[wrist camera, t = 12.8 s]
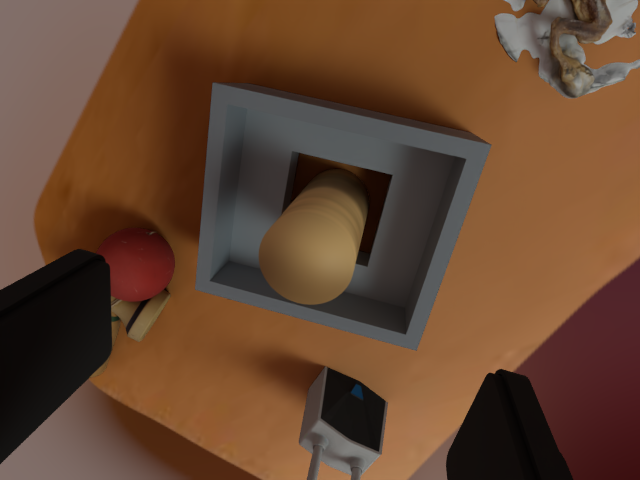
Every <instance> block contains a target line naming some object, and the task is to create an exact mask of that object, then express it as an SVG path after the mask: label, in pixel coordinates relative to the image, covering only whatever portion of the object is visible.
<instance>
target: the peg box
mask: <svg viewBox="0 0 640 480" xmlns="http://www.w3.org/2000/svg"><path fill="white" fill-rule="evenodd" d="M490 147H491V144H489V143H487V142H486V141H484V140H483V139H481V138H479V137H478V136H476V135H475V134H473V133H470V132H466V131H461V130H457V129H452V128H448V127H443V126H439V125H434V124H430V123H425V122H421V121H416V120H412V119H407V118H403V117H398V116H394V115H389V114H385V113H380V112H376V111H371V110H367V109H362V108H358V107H353V106H349V105H344V104H340V103H335V102H331V101H326V100H322V99H317V98H313V97H308V96H304V95H299V94H295V93H290V92H286V91H281V90H277V89H272V88H268V87H263V86H259V85H254V84H250V83H216V82H213V84H212V96H211V108H210V120H209V132H208V143H207V155H206V167H205V179H204V191H203V203H202V215H201V226H200V238H199V250H198V262H197V274H196V286H195V290H199V291H202V292H206V293H209V294H213V295H217V296H220V297H224V298H228V299H231V300H235V301H238V302H242V303H246V304H249V305H253V306H257V307H260V308H264V309H267V310H271V311H275V312H278V313H282V314H286V315H289V316H293V317H296V318H300V319H304V320H307V321H311V322H315V323H318V324H322V325H325V326H329V327H333V328H336V329H340V330H344V331H347V332H351V333H354V334H358V335H362V336H365V337H369V338H372V339H376V340H380V341H383V342H387V343H391V344H394V345H398V346H401V347H405V348H409V349H412V350H416V351H417V348H418V345H419V342H420V340H421V337H422V334H423V331H424V329H425V326H426V323H427V320H428V318H429V315H430V312H431V309H432V307H433V304H434V301H435V298H436V296H437V293H438V290H439V287H440V285H441V282H442V279H443V276H444V274H445V271H446V268H447V266H448V263H449V260H450V257H451V255H452V252H453V249H454V246H455V244H456V241H457V238H458V235H459V233H460V230H461V227H462V224H463V222H464V219H465V216H466V213H467V211H468V208H469V205H470V202H471V200H472V197H473V194H474V191H475V189H476V186H477V183H478V180H479V178H480V175H481V172H482V169H483V167H484V164H485V161H486V158H487V156H488V153H489V150H490ZM299 153H302V154H307V155H311V156H315V157H319V158H324V159H328V160H332V161H336V162H341V163H345V164H349V165H353V166H357V167H362V168H366V169H370V170H374V171H379V172H383V173H387V174H391V178H390V181H389V185H388V189H387V192H386V196H385V200H384V203H383V207H382V211H381V214H380V218H379V221H378V225H377V229H376V232H375V236H374V240H373V243H372V247H371V251H370V254H369V253H365V252H361V251H358V255H357V260H356V264H355V268H354V272H353V276H352V279H351V281H350V283H349V285H348V286H347V288H346V289H345V290H344V291H343V292H342V293H341V294H340V295H339V296H338V297H336V298H334V299H333V300H331V301H328V302H325V303H322V304H315V305H308V304H301V303H296V302H293V301H291V300H288V299H286V298H285V297H283V296H281V295H280V294H279V293H277V292H276V291H275V290H274V289H273V288H272V287H271V286H270V285H269V284H268V282H267V281H266V279H265V278H264V276H263V274H262V271H261V268H260V264H259V247H260V244H261V241H262V239H263V237H264V235H265V234H266V232H267V231H268V230H269V228H270V227H271V226H272V225H273V224H274V223H275V222H276V220H277V219H278V218H279V217H280V216H281V215H282V214H283V212H284V211H285V210H286V209H287V208H288V207H289V205H290V201H291V196H292V190H293V184H294V179H295V173H296V167H297V162H298V156H299Z"/></svg>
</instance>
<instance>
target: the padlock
mask: <svg viewBox="0 0 640 480" xmlns="http://www.w3.org/2000/svg"><path fill="white" fill-rule="evenodd" d="M387 406H388V402H386V401H385V400H384V399H382V398H381V397H380V396H378V395H377V394H376V393H374V392H373V391H372V390H370V389H369V388H368V387H366V386H365V385H364V384H362V383H361V382H359V381H358V380H355V379H353V378H351V377H348V376H346V375H344V374H341V373H339V372H337V371H335V370H332V369H330V368H327V367H326V366H325V367H324V369H323V370H322V371H321V373H320V374H319V376H318V377H317V378H316V380H315V381H314V382H313V384H312V385H311V386H310V388H309V389H308V395H307V400H306V405H305V411H304V416H303V422H302V427H301V432H300V438H299V444H300V445H301V446H302V447H304V448H305V449H306V450H308V451H309V452H310V453H312V459H311V463H310V468H309V472H308V477H307V480H317V476H318V471H319V466H320V461H322V462H324V463H325V464H327V465H328V466H330V467H332V468H335V469H337V470H340V471H342V472H345V473H347V474H349V475H351V480H360V476H361V475H362V474H363V473H364V472H365V471H366V470H367V469H368V468H369V467H370V466H371V464H372V463H373V462H374V461H375V460H376V459H377V458H378V457H379V456H380V455H381V454H382V446H383V438H384V430H385V422H386V414H387Z"/></svg>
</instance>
